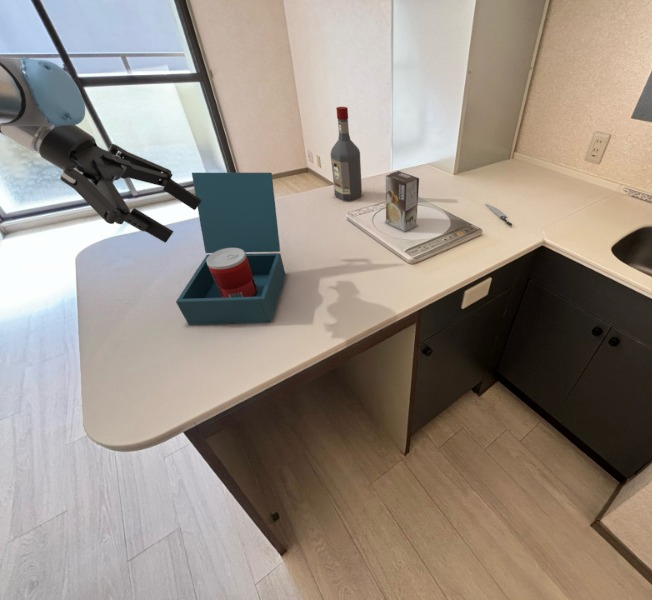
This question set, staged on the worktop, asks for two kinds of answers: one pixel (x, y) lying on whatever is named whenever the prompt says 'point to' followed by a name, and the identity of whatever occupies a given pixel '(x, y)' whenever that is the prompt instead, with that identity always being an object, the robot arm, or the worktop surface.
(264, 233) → the cooler lid
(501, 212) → the chef's knife
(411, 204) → the coffee box
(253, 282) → the canned food
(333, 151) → the liquor
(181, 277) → the worktop surface
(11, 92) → the robot arm
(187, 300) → the cool box
